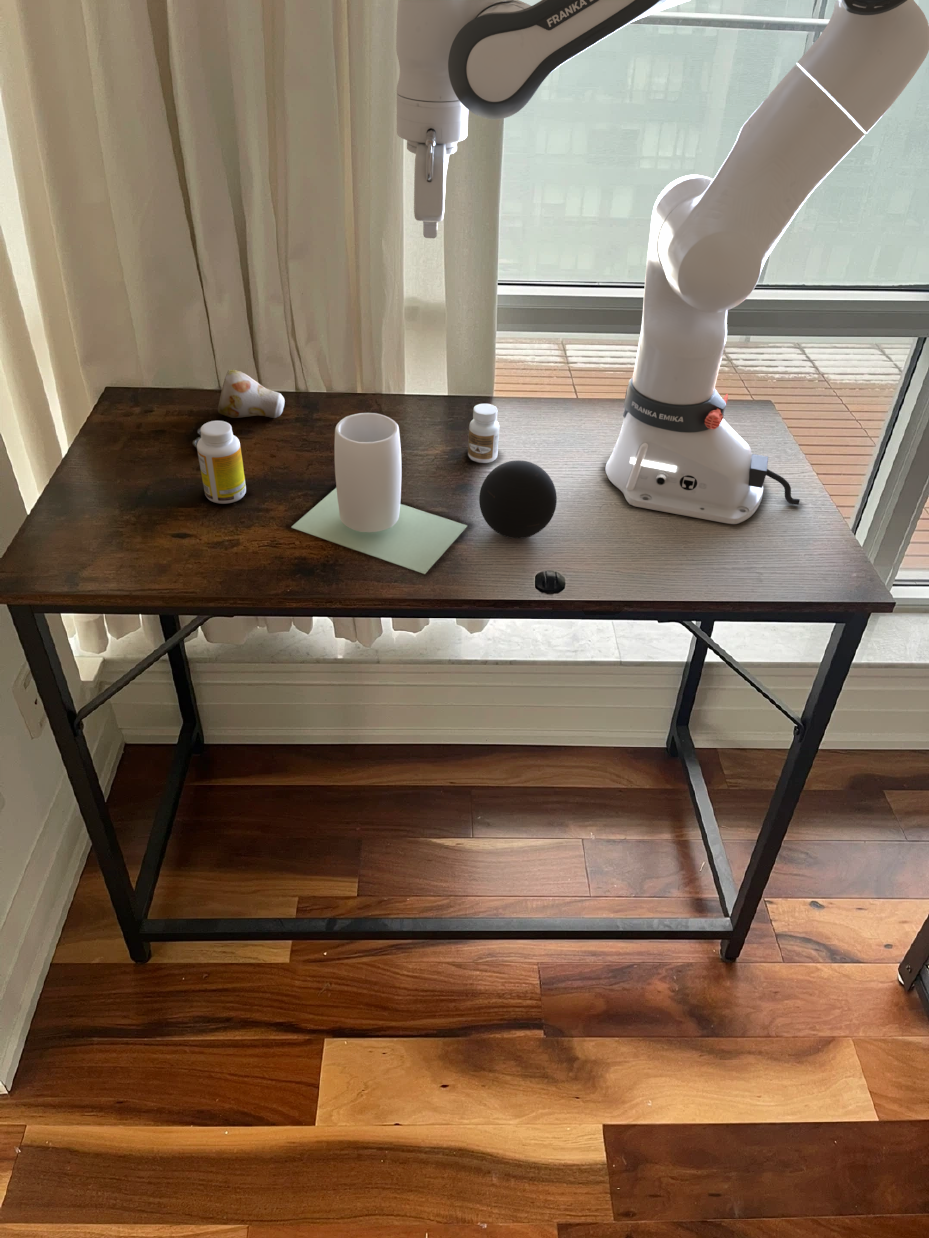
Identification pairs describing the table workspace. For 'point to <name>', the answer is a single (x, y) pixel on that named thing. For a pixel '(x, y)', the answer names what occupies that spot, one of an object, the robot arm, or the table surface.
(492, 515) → the speaker
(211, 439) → the supplement bottle
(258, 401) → the white spotted container
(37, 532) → the table surface
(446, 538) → the mat
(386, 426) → the cup
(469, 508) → the table surface
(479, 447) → the pill bottle
